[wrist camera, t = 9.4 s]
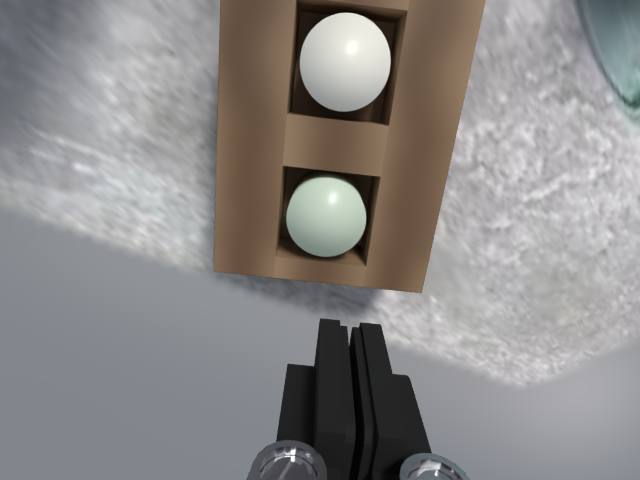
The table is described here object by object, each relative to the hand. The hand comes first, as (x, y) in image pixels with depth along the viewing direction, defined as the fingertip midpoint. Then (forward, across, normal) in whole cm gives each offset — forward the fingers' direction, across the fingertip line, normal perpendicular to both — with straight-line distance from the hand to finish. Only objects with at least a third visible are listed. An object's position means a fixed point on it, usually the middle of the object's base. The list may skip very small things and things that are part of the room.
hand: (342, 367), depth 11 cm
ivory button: (+19, 0, -9) cm, 21 cm away
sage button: (+19, 0, 0) cm, 19 cm away
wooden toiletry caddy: (+23, 0, -4) cm, 24 cm away
